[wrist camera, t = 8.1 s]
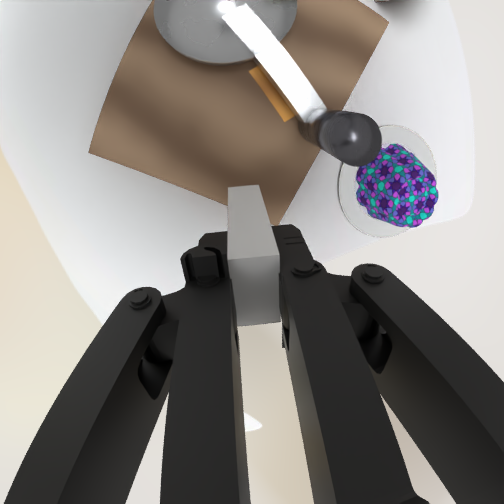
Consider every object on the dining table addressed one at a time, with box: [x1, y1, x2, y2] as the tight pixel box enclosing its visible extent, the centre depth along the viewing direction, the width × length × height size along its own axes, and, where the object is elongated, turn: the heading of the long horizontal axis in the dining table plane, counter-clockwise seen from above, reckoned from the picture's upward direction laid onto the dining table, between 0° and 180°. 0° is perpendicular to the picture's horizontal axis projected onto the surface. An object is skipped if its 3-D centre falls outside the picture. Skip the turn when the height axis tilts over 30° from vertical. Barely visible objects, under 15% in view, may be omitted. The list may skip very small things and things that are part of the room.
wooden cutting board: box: [88, 0, 389, 226], centre depth 19 cm, size 22×18×2 cm
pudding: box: [339, 125, 438, 238], centre depth 24 cm, size 12×12×5 cm
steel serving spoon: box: [154, 0, 382, 167], centre depth 14 cm, size 18×10×8 cm, turn 36°
